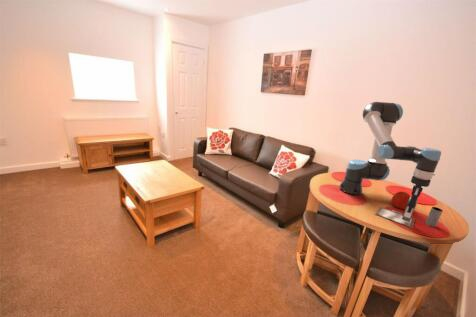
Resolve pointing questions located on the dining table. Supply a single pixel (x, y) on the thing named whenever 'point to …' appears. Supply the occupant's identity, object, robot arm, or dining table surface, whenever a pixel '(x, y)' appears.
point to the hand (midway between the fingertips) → (407, 215)
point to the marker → (411, 214)
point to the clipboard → (394, 217)
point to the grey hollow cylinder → (434, 216)
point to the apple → (400, 200)
